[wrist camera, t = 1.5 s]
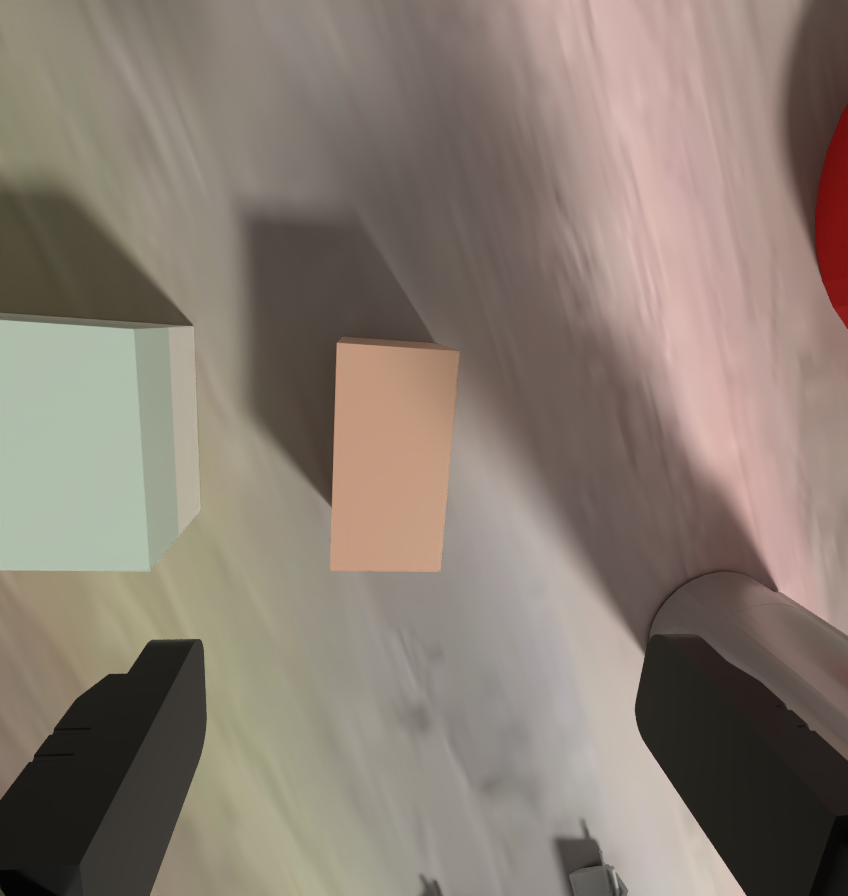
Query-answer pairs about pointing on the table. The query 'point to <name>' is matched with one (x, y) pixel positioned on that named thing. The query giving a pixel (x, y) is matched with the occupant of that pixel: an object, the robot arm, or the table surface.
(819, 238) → the toy clock
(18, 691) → the table surface
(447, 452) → the terracotta brick
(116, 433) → the green and white block
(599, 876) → the spaceship toy
